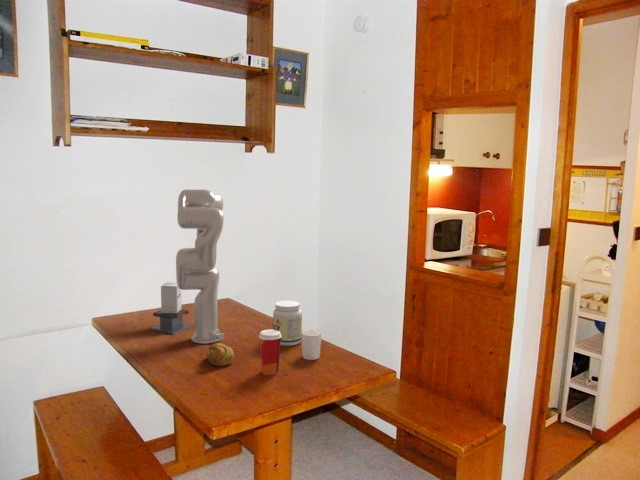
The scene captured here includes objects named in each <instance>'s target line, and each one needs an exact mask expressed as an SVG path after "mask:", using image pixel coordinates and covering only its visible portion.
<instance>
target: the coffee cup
mask: <svg viewBox="0 0 640 480" xmlns="http://www.w3.org/2000/svg"><path fill="white" fill-rule="evenodd" d="M281 337H282V335H281V333H280V331H277V330H273V328H272V329H271V328H270V329H263V330H261V331H260V332H259V335H258V338H259V349H260V364H261V366H260V367H261V368H260V369H261V374H262V375H263V376H264V375H265V376H275V375H277V374H279V366H280V353H281V345H280V340H281Z"/></svg>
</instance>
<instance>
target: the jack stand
mask: <svg viewBox="0 0 640 480" xmlns="http://www.w3.org/2000/svg"><path fill="white" fill-rule="evenodd" d="M189 313H190V311H189V310H188V309H184V308H183V309H181V310H180V311H179V312H178V313H177V314H172V313H161V309H160V310H158V311H155V312H153V314H152V316H153V317H156V318H157V317H158V318H159V324H157V325H154V326H152V327H150V331H152V332H157V333H162V334H166V335H172V336H174V335H176V334H178V333H181V332H183V331H187V330H188V329H190V328H193V324H191V323H187V322H186V323H185V322H184V320H183V319H184V318H183V316H187V315H188V314H189Z"/></svg>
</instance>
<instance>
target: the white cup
mask: <svg viewBox="0 0 640 480" xmlns="http://www.w3.org/2000/svg"><path fill="white" fill-rule="evenodd" d="M301 338H302V339H301V350H302V351H301V352H302V358H303V359H304V360H308V361H313V360H314V361H315V360H317V359H319V358H320V355H321V354H320V353H321V345H322V331H320V330H318V329H304V330H302V332H301Z"/></svg>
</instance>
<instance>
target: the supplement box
mask: <svg viewBox="0 0 640 480" xmlns="http://www.w3.org/2000/svg"><path fill="white" fill-rule="evenodd" d="M160 298H161V299H160V301H161V303H160V304H161V305H160V307H161V308H160V310H161V313H172V314H177V313H178V312H179V311H180V310H181V309H182V304H183V303H182V289H180V288H179V287H178V285H177V282H165V283H164V284H162V285H160Z"/></svg>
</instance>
